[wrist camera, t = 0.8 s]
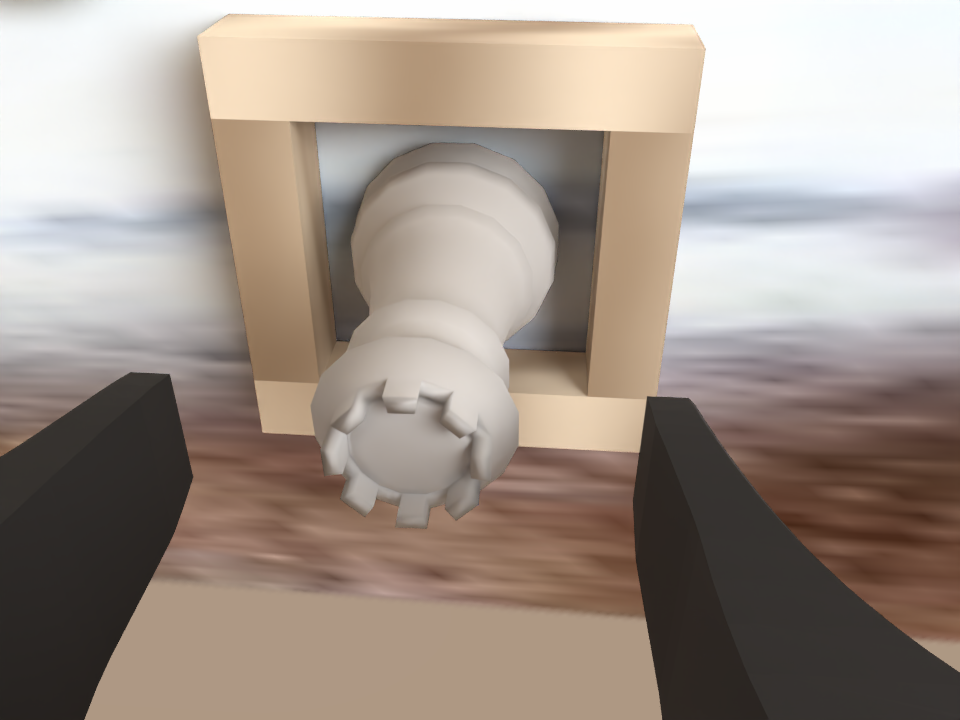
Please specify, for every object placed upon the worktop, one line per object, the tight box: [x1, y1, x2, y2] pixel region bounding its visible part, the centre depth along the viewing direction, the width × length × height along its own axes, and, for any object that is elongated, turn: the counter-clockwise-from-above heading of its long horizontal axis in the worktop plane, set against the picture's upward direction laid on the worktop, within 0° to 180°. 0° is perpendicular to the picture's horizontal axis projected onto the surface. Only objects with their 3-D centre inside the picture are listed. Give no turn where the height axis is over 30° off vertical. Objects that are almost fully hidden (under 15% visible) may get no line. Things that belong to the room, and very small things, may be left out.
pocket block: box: [197, 14, 706, 453], centre depth 19 cm, size 9×9×2 cm
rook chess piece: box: [310, 143, 559, 529], centre depth 16 cm, size 4×4×8 cm
